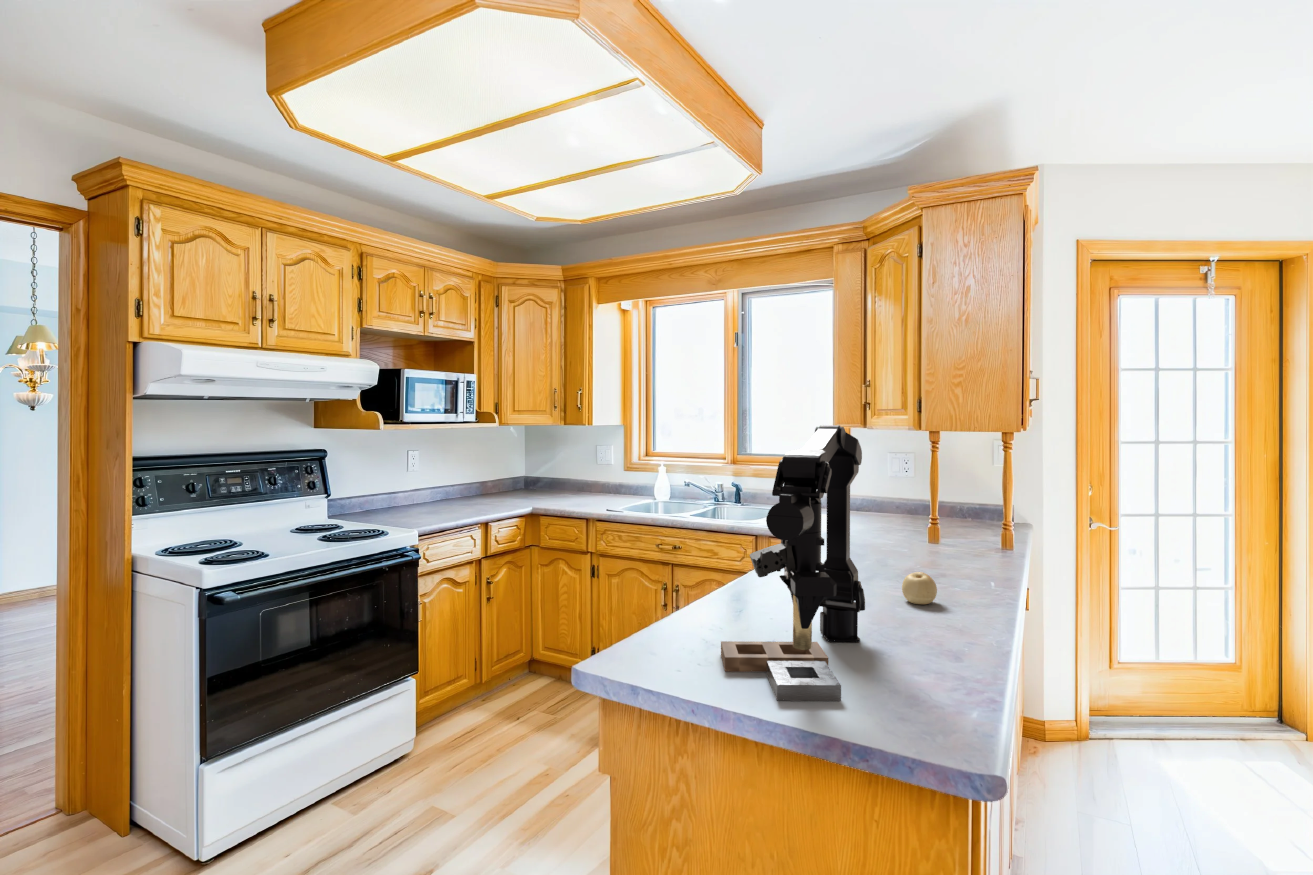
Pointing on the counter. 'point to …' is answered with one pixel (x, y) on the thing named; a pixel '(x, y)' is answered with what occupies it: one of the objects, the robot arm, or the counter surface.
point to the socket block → (803, 681)
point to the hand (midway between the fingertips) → (802, 625)
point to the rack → (765, 654)
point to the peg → (800, 631)
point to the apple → (919, 588)
